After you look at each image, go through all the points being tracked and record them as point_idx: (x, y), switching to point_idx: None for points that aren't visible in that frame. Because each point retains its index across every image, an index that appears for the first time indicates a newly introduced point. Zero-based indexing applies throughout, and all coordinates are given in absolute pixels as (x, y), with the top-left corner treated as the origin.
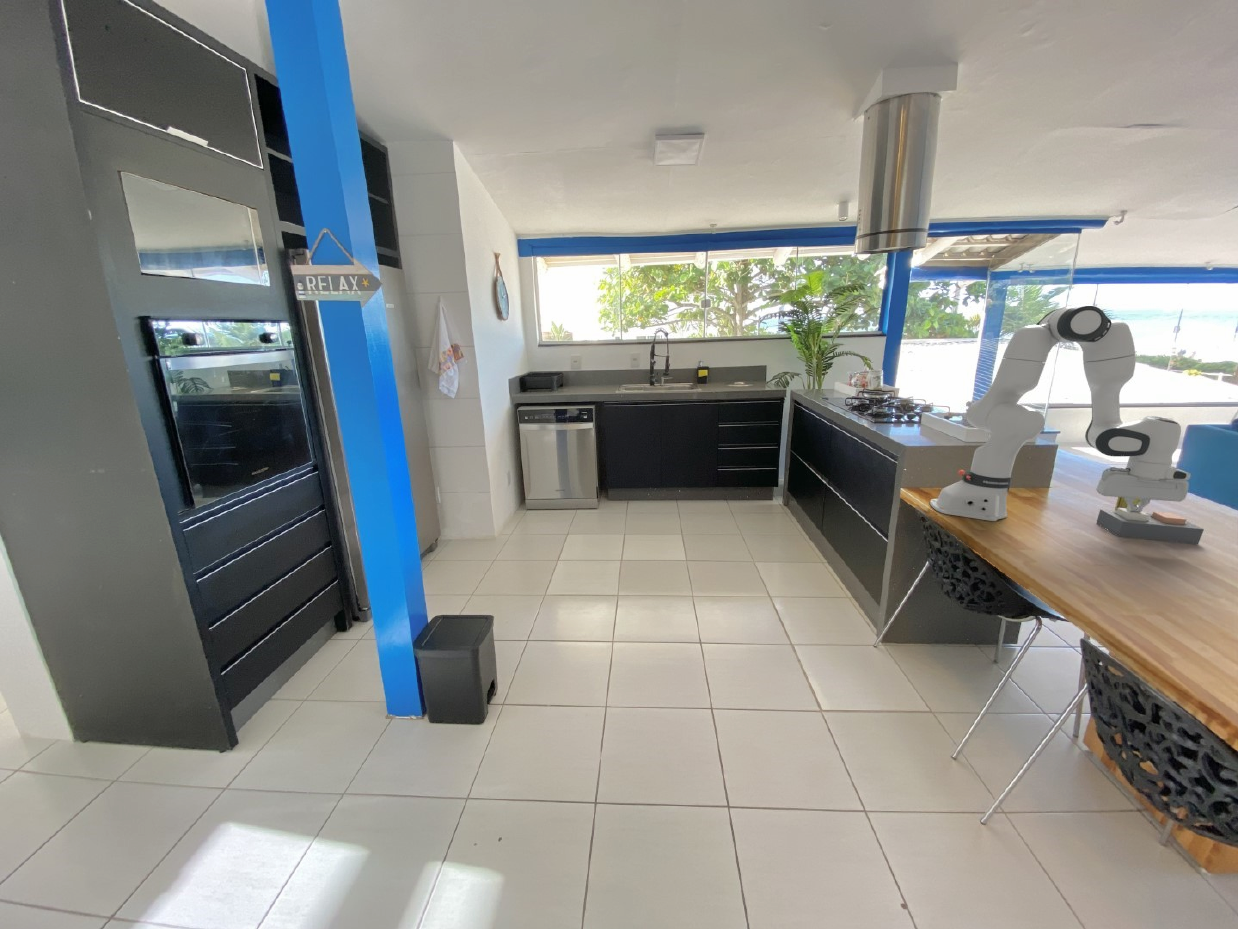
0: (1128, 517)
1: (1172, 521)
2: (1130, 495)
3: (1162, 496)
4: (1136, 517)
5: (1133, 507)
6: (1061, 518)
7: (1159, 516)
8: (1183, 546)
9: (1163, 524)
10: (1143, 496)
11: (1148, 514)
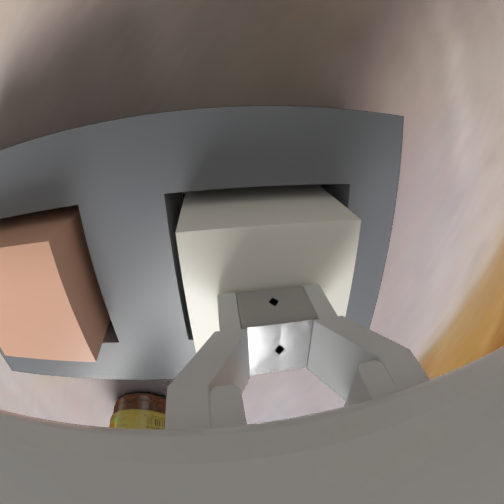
0: (333, 204)
1: (19, 233)
2: (494, 387)
3: (21, 478)
4: (274, 210)
5: (313, 310)
6: (430, 297)
7: (74, 293)
8: (58, 76)
9: (90, 154)
10: (341, 452)
11: (112, 363)
